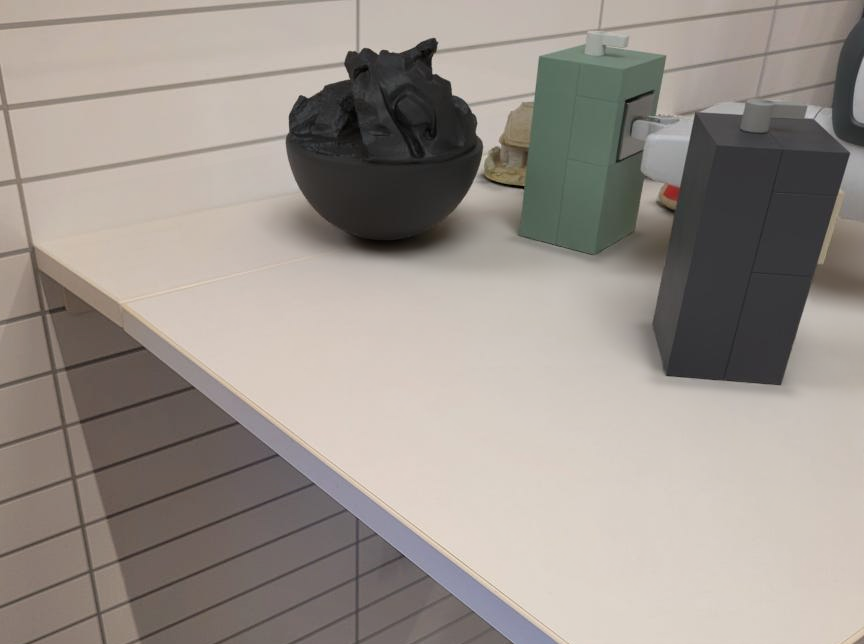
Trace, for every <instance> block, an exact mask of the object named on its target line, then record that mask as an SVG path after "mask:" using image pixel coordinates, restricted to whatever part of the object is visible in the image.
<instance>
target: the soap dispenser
mask: <svg viewBox="0 0 864 644" xmlns="http://www.w3.org/2000/svg"><path fill="white" fill-rule="evenodd" d="M629 42H630V35H627V34H619V33H612V32H607V31H604V30H588V31H587V32H586V37H585V43H584V44H580V45H576V46H573V47H569V48H565V49H561V50H556V51H553V52H549V53H546V54H542V55H539V56H538V61H537V62H538V63H537V71H536V79H535V80H536V82H535V89H534V98H533V102H534V106H533V115H532V124H531V133H530V142H529V151H528V160H527V169H526V178H525V186H523V196H522V197H523V198H522V205H521V206H522V207H521V215H520V224H519V234H518V236H520V237H524V238H528V239H531V240H536V241H540V242H543V243H546V244H551V245H554V246H559V247H563V248H566V249H570V250H573V251H577V252H581V253H586V254H588V255H593V256H595V255H596V254H598V253H600V252H601V251H603V250H605V249H607V248H608V247H610V246H611V245H613V244H615V243H617V242H618V241H620V240H622V239H623V238H625V237H627V236H628V235H630V234H631V233H633V232H635V231H636V226H637V221H638V216H639V210H640V204H641V200H642V199H641V198H642V193H643V187H644V182H645V177H646V175H644V174H643V173H642V172H641V162H642V155H643V150H644V149H643V150H641V151H639V152H637V153H635V154H632V155H630V156H628V157H626V158H624V159H622V160H616V155H617V149H618V143H619V136H620V130H621V124H622V118H623V112H624V106H625V100H627V99H630V98H632V97H635V96H638V95H640V94H643V93H646V92H647V93H653V94H655V96H654V101H653V107H652V112H651V116H656V115H657V112H658V105H659V99H660V94H661V89H662V88H661V87H662V83H663V78H664V73H665V72H664V71H665V66H666V61H667V54H660V53H655V52H654V53H652V52H647V51H639V50H631V49H625V48H628V47H629Z"/></svg>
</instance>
